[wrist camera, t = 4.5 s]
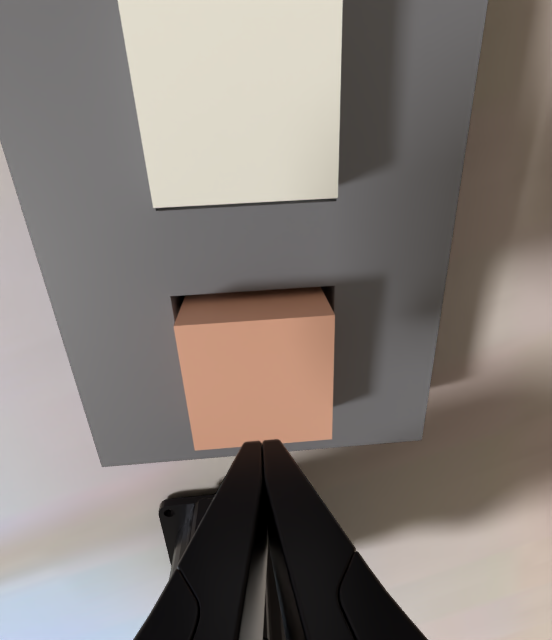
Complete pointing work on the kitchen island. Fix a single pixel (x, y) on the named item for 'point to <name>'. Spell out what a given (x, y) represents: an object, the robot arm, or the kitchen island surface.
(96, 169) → the button panel
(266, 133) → the cream button
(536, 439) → the kitchen island surface
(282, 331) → the terracotta button
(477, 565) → the kitchen island surface
